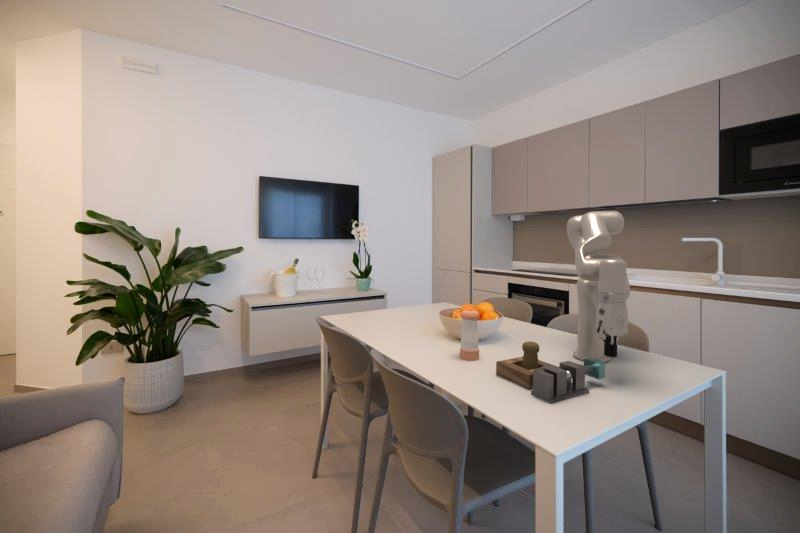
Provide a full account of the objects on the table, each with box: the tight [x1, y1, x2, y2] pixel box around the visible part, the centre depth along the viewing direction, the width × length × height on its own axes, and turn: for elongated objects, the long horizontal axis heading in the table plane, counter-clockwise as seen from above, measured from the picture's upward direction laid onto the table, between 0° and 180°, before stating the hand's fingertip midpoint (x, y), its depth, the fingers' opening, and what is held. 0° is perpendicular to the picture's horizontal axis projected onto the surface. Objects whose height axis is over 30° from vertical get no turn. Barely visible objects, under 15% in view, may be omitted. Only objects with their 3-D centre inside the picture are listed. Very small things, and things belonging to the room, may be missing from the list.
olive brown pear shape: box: [521, 340, 540, 370], centre depth 115 cm, size 6×6×11 cm
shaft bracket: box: [530, 360, 590, 405], centre depth 104 cm, size 16×7×8 cm, turn 118°
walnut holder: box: [495, 356, 559, 391], centre depth 116 cm, size 14×14×4 cm
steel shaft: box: [567, 357, 607, 380], centre depth 107 cm, size 17×5×5 cm, turn 118°
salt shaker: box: [459, 307, 480, 361], centre depth 137 cm, size 7×7×19 cm
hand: (610, 356), depth 113 cm, fingers closed
